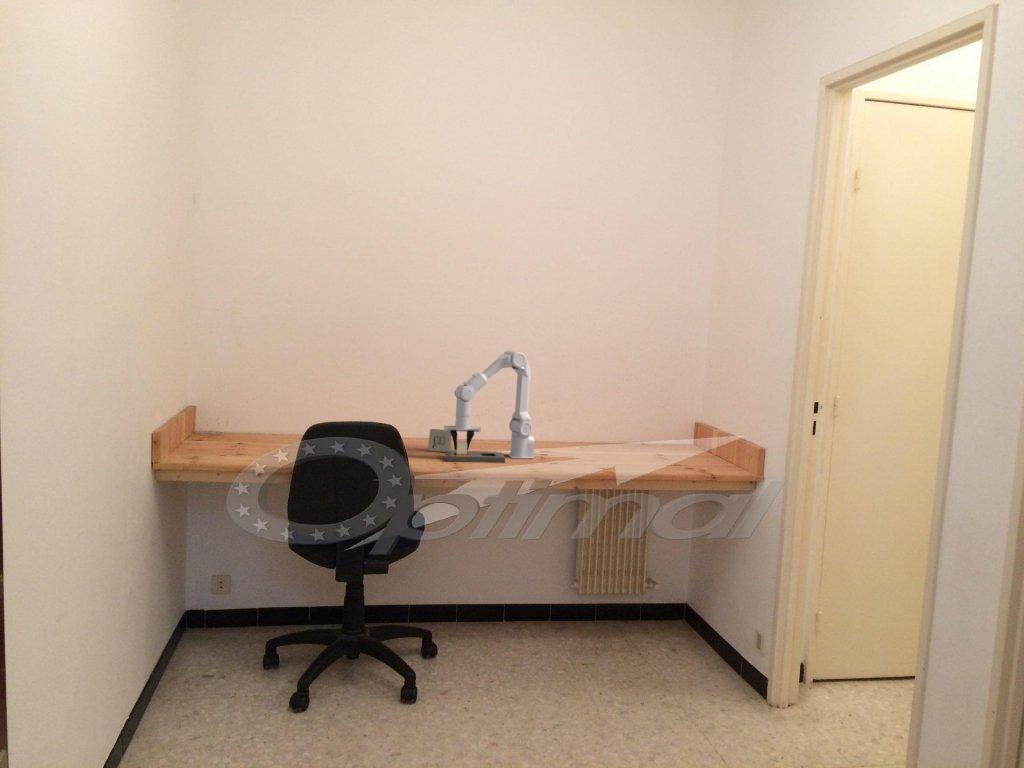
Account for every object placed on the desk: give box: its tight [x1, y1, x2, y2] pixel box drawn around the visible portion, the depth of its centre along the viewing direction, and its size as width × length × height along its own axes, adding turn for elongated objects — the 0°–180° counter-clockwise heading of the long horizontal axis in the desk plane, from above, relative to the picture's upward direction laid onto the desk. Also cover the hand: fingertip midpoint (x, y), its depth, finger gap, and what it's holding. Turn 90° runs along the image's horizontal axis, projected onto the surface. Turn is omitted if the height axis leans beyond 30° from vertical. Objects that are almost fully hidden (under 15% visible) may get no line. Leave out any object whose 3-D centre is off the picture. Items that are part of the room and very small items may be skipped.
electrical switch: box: [427, 428, 452, 453], centre depth 328 cm, size 9×5×9 cm, turn 85°
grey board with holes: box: [444, 451, 506, 464], centre depth 315 cm, size 23×10×2 cm, turn 101°
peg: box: [455, 440, 468, 455], centre depth 314 cm, size 4×4×6 cm
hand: (461, 449), depth 314 cm, fingers closed on peg, 4 cm apart
